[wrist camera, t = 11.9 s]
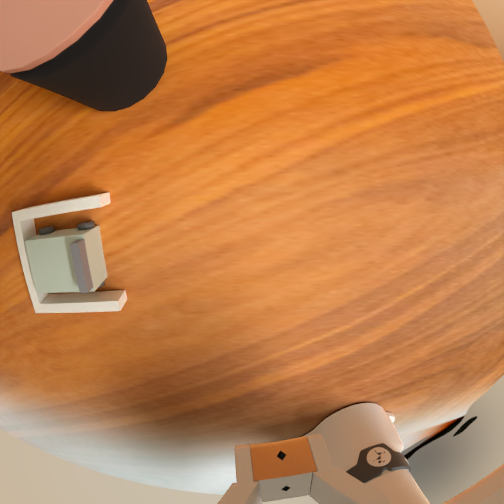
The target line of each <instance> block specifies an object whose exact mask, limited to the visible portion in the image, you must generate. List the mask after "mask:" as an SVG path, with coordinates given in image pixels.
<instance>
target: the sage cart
mask: <svg viewBox="0 0 504 504" xmlns="http://www.w3.org/2000/svg"><path fill="white" fill-rule="evenodd" d="M77 226H78V228H71V229H63V230H54V226H48V227H44V228H40V229H39V234H38V235H36V236H34V237H32V238H30V239H28V240H26V241H25V245H26V250H27V255H28V260H29V264H30V269H31V273H32V277H33V281H34V285H35V289H36V292H37V293H62V292H80V293H89V292H94V291H95V290H96V289H97V288H100V287H102V286H104V285H105V282H104V280H105V279H106V278H107V277H108V275H107V270H106V265H105V259H104V253H103V247H102V241H101V234H100V227H99V225H98V226H95V224H94V221H87V222H82V223H79V224H77Z"/></svg>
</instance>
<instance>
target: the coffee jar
mask: <svg viewBox="0 0 504 504" xmlns="http://www.w3.org/2000/svg"><path fill="white" fill-rule="evenodd" d="M166 62H167V52H166V45H165V43H164V40H163V38H162V36H161V33H160V31H159V28H158V26H157V24H156V21H155V19H154V17H153V14H152V12H151V10H150V7H149V5H148V2H147V0H0V71H1V72H5V73H9V74H10V75H11V76H12V77H15V78H18V79H21V80H24V81H26V82H29V83H32V84H34V85H37V86H40V87H42V88H45V89H47V90H50V91H52V92H55V93H57V94H60V95H62V96H65V97H67V98H70V99H72V100H75V101H77V102H80V103H82V104H84V105H87V106H89V107H92V108H94V109H97V110H99V111H117V110H120V109H124V108H127V107H130V106H132V105H133V104H135V103H137V102H138V101H140V100H142V99H144V98H145V97H146V96H147V95H148V94H149V93H150V92H151V91H152V90H153V89H154V88H155V87H156V85H157V83H158V82H159V80H160V78H161V77H162V75H163V73H164V69H165V65H166Z"/></svg>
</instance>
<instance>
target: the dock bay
mask: <svg viewBox="0 0 504 504" xmlns="http://www.w3.org/2000/svg"><path fill="white" fill-rule="evenodd" d="M110 203H111V202H110V193H102V194H96V195H90V196H84V197H78V198H73V199H67V200H62V201H57V202H52V203H47V204H42V205H37V206H33V207H28V208H24V209H21V210H17V211H14V212H12V217H13V223H14V229H15V235H16V240H17V245H18V250H19V255H20V259H21V263H22V267H23V271H24V275H25V279H26V283H27V286H28V290H29V293H30V297H31V300H32V303H33V306H34V309H35V312H36V313H76V312H107V311H121V309H122V307H123V306H124V304H125V302H126V301H127V295H126V291H125V290H116V291H100V292H89V293H62V294H50V293H37V292H36V289H35V285H34V281H33V277H32V273H31V269H30V264H29V260H28V255H27V250H26V245H25V241H26V240H28V239H30V238H32V237H34V236H36V235H37V234H36V228H35V222H34V218H39V217H45V216H50V215H56V214H62V213H67V212H73V211H80V210H86V209H92V208H99V207H103V206H105V205H108V204H110Z"/></svg>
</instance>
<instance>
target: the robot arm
mask: <svg viewBox="0 0 504 504" xmlns="http://www.w3.org/2000/svg"><path fill="white" fill-rule="evenodd" d="M394 420H395V416H394V414H393V413H389V412H385V411H384V409H383V408H382V407H381V406H380V405H378V404H375V403H361V404H356V405H352V406H349V407H347V408H344V409H342V410H340V411H338V412H336V413H334V414H332V415H330V416H329V417H327V418H326V419H325V420H323V421H322V422H321V423H320V424H319V425H318V426H317V427H316V428H315V429H314V430H312V431H311V432H310V433H308V434H306V435H304V436H302V437H298V438H293V439H287V440H281V441H278V442H270V443H260V444H249V445H237V446H235V464H236V478H237V483H232V485H231V486H230V488H229V489H228V490H227V492H226V493H225V494H224V496H223V497H222V499H221V500H220V501H219V502H218V504H262V502H267V501H274V500H280V499H286V498H293V497H300V496H306V495H310V497H312V498H313V499H314V500H315V501H316V502H318V503H319V504H430V502H429V501H428V500H427V498H426V497H425V496H424V494H423V493H422V491H421V490H420V488H419V487H418V485H417V484H416V482H415V480H414V479H413V477H412V475H411V474H410V471H411V468H410V466H409V463H408V461H407V459H405V457H404V456H403V454H402V453H401V452H402V450H403V443H402V441H401V439H400V437H399V435H398V433H397V431H396V429H395V427H394V425H393V422H394ZM442 504H504V464H503V465H501V466H500V467H499V468H497V469H496V470H495V471H493V472H492V473H490V474H489V475H488V476H486V477H485V478H483V479H482V480H480V481H479V482H477V483H476V484H474V485H473V486H471V487H470V488H468V489H467V490H465V491H463V492H462V493H460V494H458V495H457V496H455V497H453V498H451V499H450V500H448V501H446V502H444V503H442Z"/></svg>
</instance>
